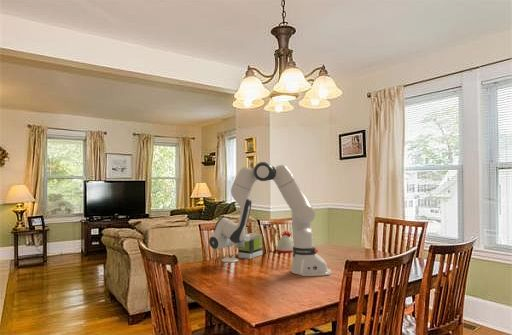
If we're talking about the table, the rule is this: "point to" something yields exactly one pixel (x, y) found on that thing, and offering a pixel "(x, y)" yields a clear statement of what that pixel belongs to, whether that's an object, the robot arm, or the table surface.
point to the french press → (240, 245)
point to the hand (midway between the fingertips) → (240, 235)
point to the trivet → (229, 260)
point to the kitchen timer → (285, 243)
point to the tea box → (251, 247)
